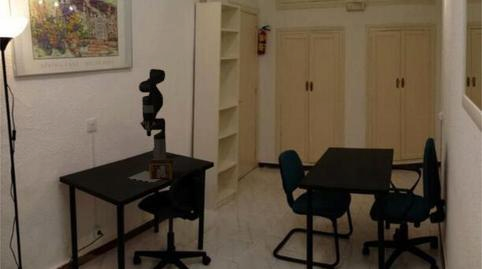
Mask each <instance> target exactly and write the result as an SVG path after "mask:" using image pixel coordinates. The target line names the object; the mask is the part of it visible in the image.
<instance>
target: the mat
mask: <svg viewBox="0 0 482 269" xmlns="http://www.w3.org/2000/svg"><path fill="white" fill-rule="evenodd" d="M128 178H130V180H133V179H136V180H135V181H139V180H142V181H141V182H145V181H148V182H147V183H150V182H154V183H157V182H159V181H161V180H162V179H150V175H149V171H147V170H145V171H142V172H140V173H139V172H138V173H137V174H134V175H132V176H129V177H128ZM158 180H159V181H158ZM156 181H157V182H156Z"/></svg>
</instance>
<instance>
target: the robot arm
mask: <svg viewBox="0 0 482 269" xmlns="http://www.w3.org/2000/svg"><path fill="white" fill-rule="evenodd" d="M148 76H149V77H148V78H147V79H146V80H143V81H141V82H140V83H139V85H138V90H139V92H140V93H144V94H145V93H147V95H145V96H142V98H141V100H142V102H141V103H142V104H141V105H142V106H141V107H142V119H143V120H142V121H141V122H140V123H139V124H140V125H141V127H142V128H143V130H144V131H146V136H147V137H152V131H159V132H157V133H156V134H153V148H152V152H153V159H167V143H166V142H167V141H166V140H167V139H166V120H165V118H164V117H158V118H157V115H158V114H159V112H160V111H161V109H162V108H163V106H164V95H163V93H162V92H161V91H160V89H159V88H158V86H157V85H159V84H162V83H163V82H164V81H165V79H166V72H165V70H163V69H159V68H151V69H150V70H149V75H148Z"/></svg>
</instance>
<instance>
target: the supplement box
mask: <svg viewBox="0 0 482 269" xmlns="http://www.w3.org/2000/svg"><path fill="white" fill-rule="evenodd" d="M173 162H174V160H173V158H166V159H154V158H151V159H150V163H149V164H148V170H149V171H148V172H149V175H150V179H161V180H171V179H173V175H174V163H173Z"/></svg>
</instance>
